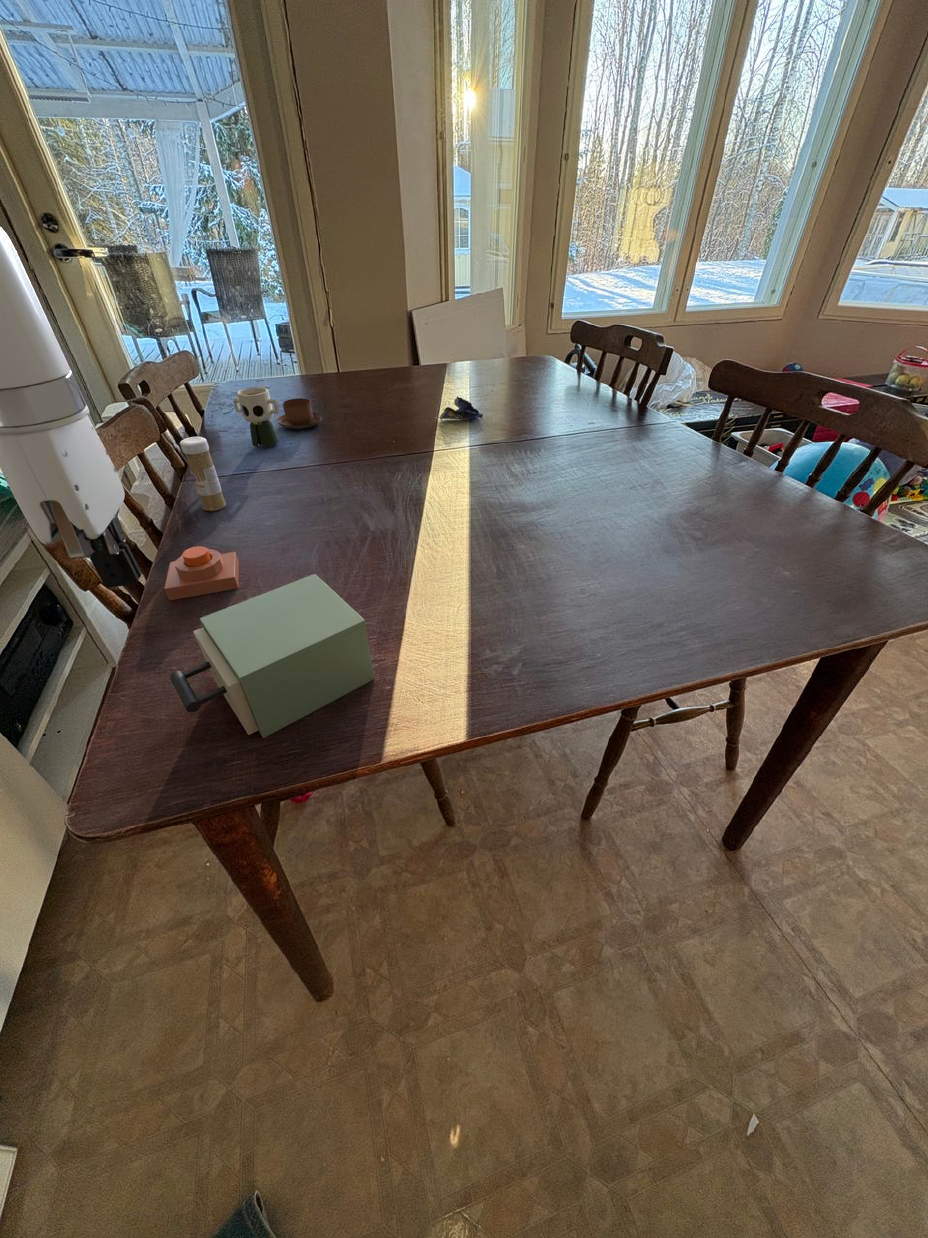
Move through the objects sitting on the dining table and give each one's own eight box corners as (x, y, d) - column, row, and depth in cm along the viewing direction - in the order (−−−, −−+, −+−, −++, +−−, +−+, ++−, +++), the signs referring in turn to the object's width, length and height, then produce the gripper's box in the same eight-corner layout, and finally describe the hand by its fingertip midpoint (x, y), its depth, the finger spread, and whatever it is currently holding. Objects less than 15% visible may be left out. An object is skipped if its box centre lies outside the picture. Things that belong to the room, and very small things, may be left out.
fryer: (263, 738, 57) (239, 678, 51) (223, 677, 65) (199, 618, 59) (374, 679, 65) (365, 620, 59) (327, 630, 72) (314, 573, 66)
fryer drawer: (210, 755, 55) (185, 706, 50) (178, 695, 61) (153, 646, 57) (355, 680, 63) (346, 631, 58) (313, 634, 70) (301, 587, 65)
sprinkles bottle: (197, 509, 102) (173, 441, 93) (216, 500, 105) (194, 434, 97) (214, 513, 100) (190, 445, 92) (232, 504, 103) (211, 438, 95)
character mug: (239, 449, 127) (223, 394, 119) (251, 439, 133) (236, 386, 124) (281, 451, 126) (269, 395, 118) (291, 440, 132) (280, 387, 124)
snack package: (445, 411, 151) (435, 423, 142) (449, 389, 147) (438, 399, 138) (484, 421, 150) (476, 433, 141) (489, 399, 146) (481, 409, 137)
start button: (185, 569, 78) (181, 559, 77) (187, 557, 81) (183, 548, 80) (210, 565, 79) (206, 555, 78) (211, 554, 82) (208, 544, 80)
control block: (169, 600, 78) (159, 579, 75) (174, 573, 84) (165, 552, 81) (238, 588, 80) (231, 567, 78) (239, 562, 86) (232, 541, 84)
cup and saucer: (283, 419, 146) (278, 396, 142) (326, 418, 146) (322, 395, 142) (274, 433, 136) (268, 409, 133) (319, 432, 137) (315, 408, 133)
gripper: (19, 381, 48) (108, 550, 59) (-73, 436, 36) (58, 631, 48) (107, 375, 49) (177, 542, 61) (43, 427, 38) (144, 619, 49)
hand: (124, 581), depth 54 cm, fingers closed
